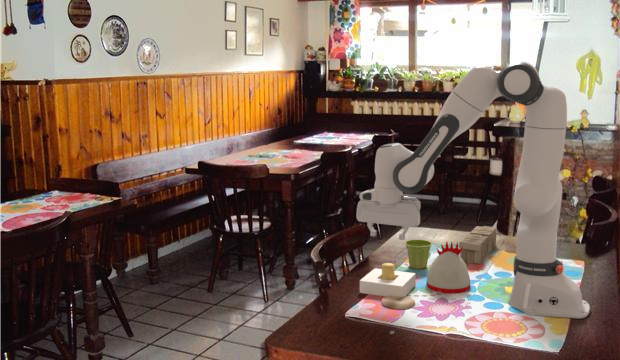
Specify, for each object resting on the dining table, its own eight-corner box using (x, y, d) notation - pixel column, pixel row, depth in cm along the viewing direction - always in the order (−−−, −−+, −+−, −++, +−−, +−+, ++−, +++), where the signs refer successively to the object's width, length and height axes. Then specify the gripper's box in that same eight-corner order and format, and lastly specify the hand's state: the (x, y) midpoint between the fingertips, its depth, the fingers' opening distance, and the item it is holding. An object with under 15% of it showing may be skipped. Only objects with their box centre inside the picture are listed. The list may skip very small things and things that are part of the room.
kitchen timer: (471, 295, 202) (472, 248, 200) (426, 292, 205) (426, 246, 202) (469, 280, 216) (470, 237, 213) (427, 278, 218) (427, 235, 216)
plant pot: (433, 270, 227) (434, 246, 226) (406, 270, 227) (406, 246, 226) (429, 262, 236) (429, 239, 235) (403, 262, 236) (403, 239, 235)
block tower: (476, 245, 261) (457, 262, 236) (477, 225, 260) (458, 240, 235) (496, 248, 258) (479, 265, 232) (497, 227, 257) (480, 242, 231)
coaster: (419, 300, 198) (419, 298, 198) (409, 311, 189) (409, 309, 189) (387, 295, 202) (387, 293, 202) (376, 306, 194) (376, 304, 193)
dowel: (395, 287, 210) (396, 263, 208) (392, 291, 206) (392, 267, 205) (384, 286, 211) (384, 262, 210) (380, 290, 208) (380, 265, 206)
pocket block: (415, 285, 212) (415, 273, 211) (402, 298, 199) (402, 286, 199) (374, 279, 218) (374, 268, 217) (359, 292, 205) (359, 280, 205)
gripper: (423, 195, 202) (422, 239, 204) (362, 190, 211) (361, 231, 213) (417, 199, 196) (416, 244, 199) (354, 193, 205) (354, 236, 207)
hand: (387, 237), depth 206 cm, fingers open, 8 cm apart
